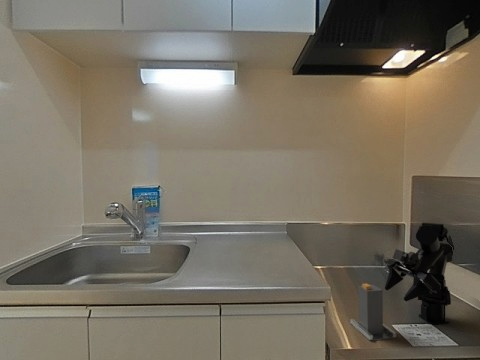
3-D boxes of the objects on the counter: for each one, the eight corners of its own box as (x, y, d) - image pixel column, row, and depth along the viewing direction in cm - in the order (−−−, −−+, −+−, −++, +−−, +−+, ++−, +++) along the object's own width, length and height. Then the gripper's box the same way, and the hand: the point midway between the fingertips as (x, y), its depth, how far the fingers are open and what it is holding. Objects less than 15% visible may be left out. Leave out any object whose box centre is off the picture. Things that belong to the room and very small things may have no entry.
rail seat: (374, 321, 106) (374, 316, 106) (396, 337, 95) (396, 332, 95) (350, 323, 104) (350, 319, 104) (369, 340, 94) (369, 335, 94)
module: (373, 325, 102) (372, 281, 102) (382, 332, 98) (382, 286, 97) (358, 326, 102) (358, 282, 101) (367, 334, 97) (367, 288, 96)
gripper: (390, 235, 111) (361, 269, 109) (431, 247, 93) (397, 288, 91) (411, 256, 113) (383, 290, 111) (455, 272, 94) (422, 313, 93)
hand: (394, 294), depth 101 cm, fingers open, 9 cm apart
